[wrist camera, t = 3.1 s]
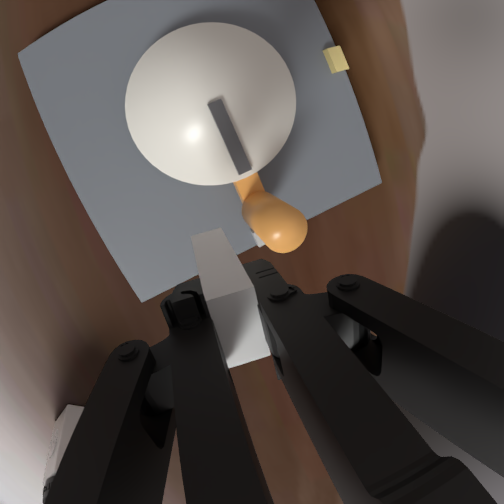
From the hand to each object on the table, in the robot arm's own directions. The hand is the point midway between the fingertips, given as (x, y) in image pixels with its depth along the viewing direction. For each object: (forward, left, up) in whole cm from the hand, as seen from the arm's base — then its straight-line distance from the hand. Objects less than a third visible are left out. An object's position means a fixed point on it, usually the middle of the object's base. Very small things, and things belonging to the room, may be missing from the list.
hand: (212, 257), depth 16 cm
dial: (-5, +4, -8) cm, 10 cm away
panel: (-7, +4, -10) cm, 13 cm away
